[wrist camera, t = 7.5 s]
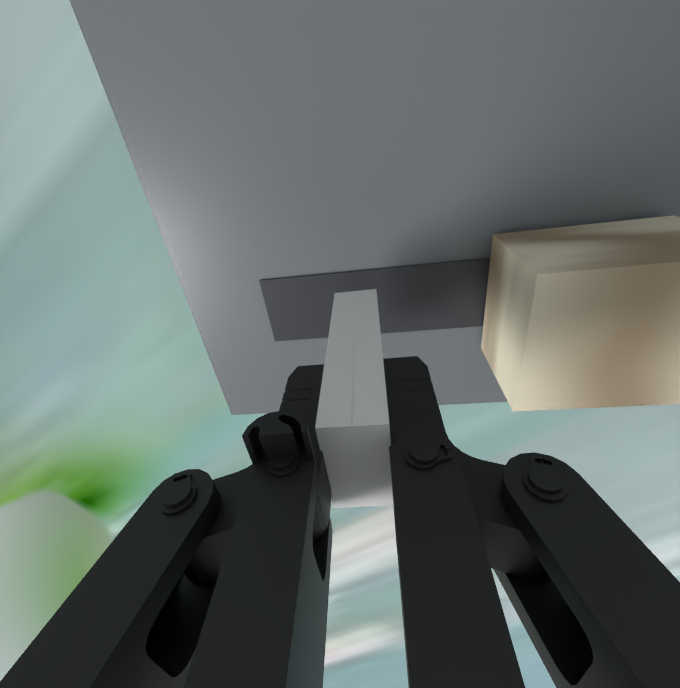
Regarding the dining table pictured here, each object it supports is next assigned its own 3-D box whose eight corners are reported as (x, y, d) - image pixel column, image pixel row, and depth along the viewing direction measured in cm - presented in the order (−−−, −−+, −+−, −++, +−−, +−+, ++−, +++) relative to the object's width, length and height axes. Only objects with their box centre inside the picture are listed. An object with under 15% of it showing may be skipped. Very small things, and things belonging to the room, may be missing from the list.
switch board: (242, 390, 21) (231, 415, 19) (-37, -404, 8) (-149, -548, 6) (692, 365, 18) (728, 392, 16) (1343, -934, 5) (1838, -1469, 3)
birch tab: (480, 348, 15) (512, 411, 12) (492, 234, 13) (537, 274, 9) (629, 338, 15) (706, 402, 11) (674, 215, 12) (792, 251, 9)
